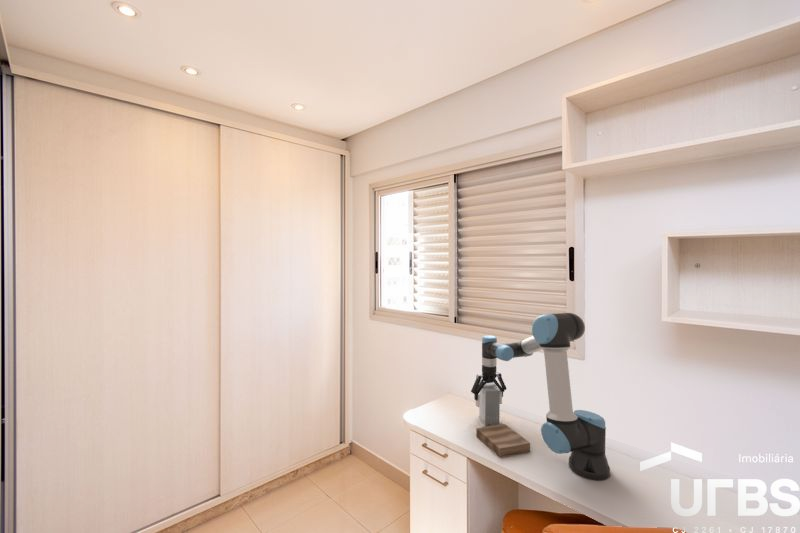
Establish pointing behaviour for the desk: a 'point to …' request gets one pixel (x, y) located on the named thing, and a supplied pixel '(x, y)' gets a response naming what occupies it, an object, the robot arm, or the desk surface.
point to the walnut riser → (503, 440)
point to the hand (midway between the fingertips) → (488, 404)
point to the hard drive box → (489, 405)
